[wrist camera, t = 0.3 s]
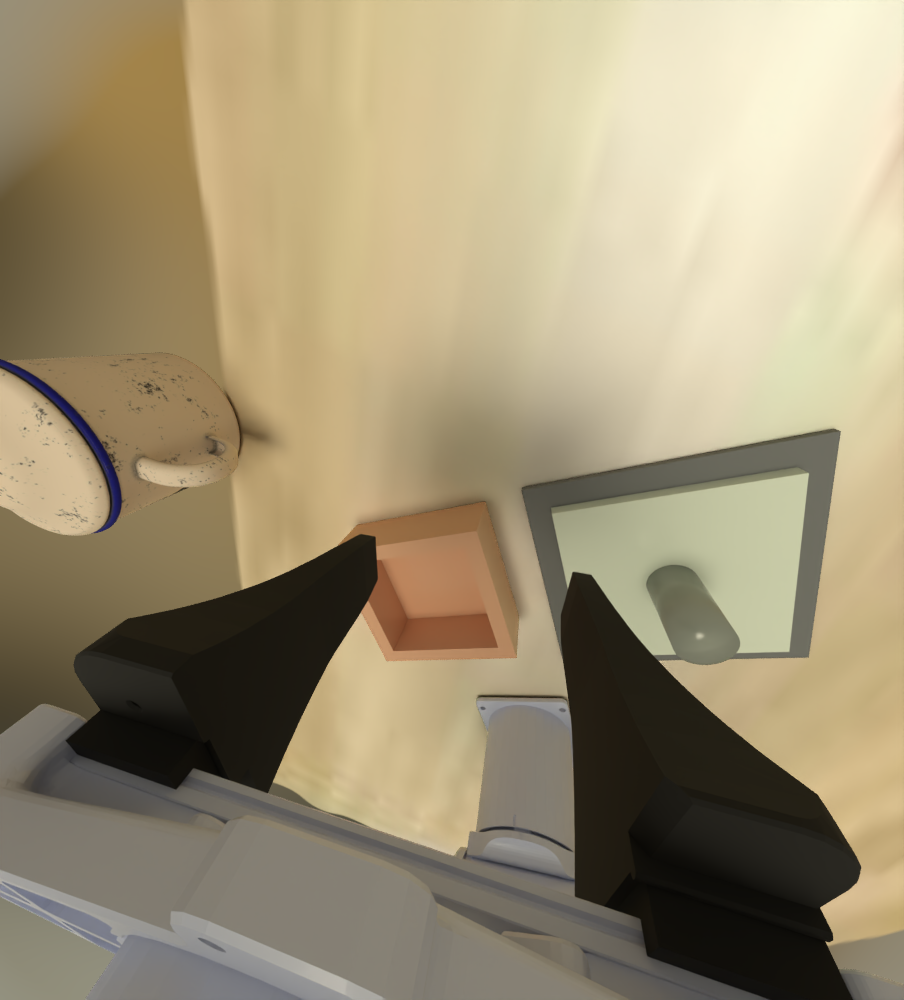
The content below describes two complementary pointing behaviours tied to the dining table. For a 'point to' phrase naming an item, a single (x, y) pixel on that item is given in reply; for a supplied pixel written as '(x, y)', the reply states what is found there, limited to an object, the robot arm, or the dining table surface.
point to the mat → (798, 451)
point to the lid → (695, 562)
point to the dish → (440, 587)
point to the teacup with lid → (108, 436)
